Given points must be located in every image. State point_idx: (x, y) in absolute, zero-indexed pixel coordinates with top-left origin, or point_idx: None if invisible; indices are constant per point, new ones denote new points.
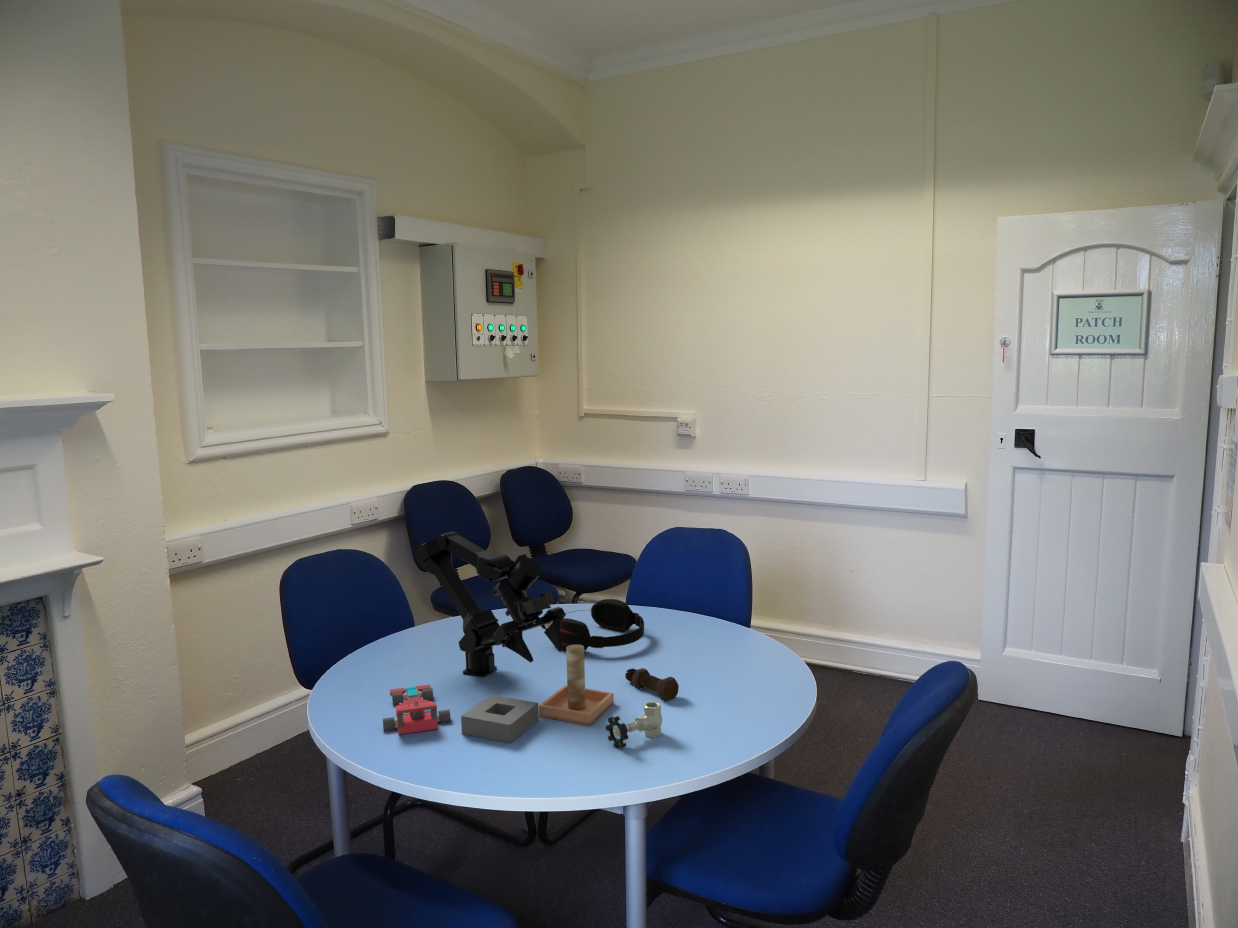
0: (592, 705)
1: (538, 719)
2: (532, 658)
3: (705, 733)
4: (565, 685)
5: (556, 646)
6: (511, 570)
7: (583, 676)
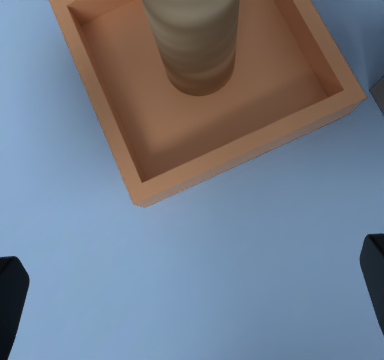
0: (147, 37)
1: (370, 88)
2: (380, 241)
3: None
4: (134, 197)
5: (4, 340)
6: None
7: None
